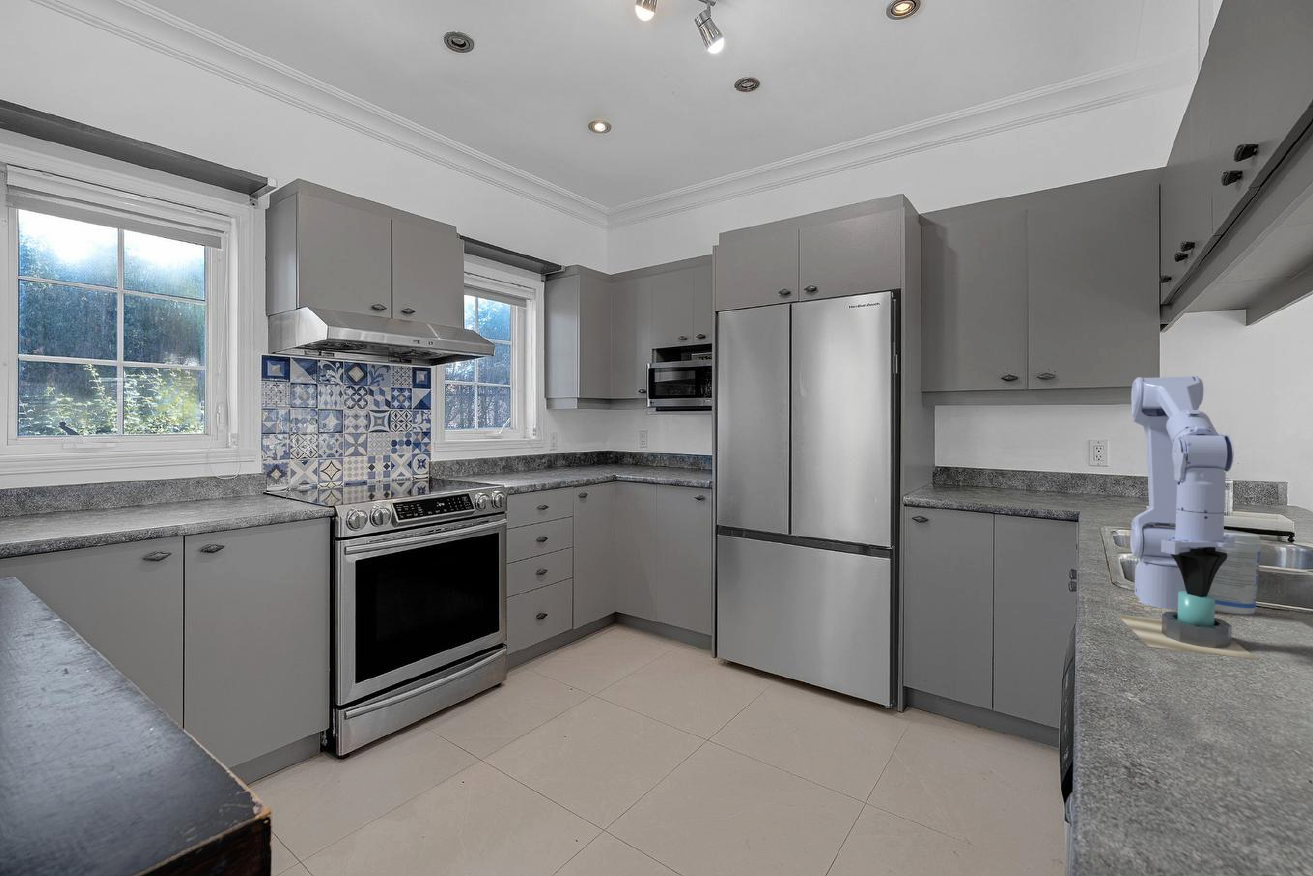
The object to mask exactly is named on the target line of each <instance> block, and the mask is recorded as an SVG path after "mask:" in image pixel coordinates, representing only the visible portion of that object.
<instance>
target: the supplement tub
mask: <svg viewBox="0 0 1313 876" xmlns="http://www.w3.org/2000/svg"><path fill="white" fill-rule="evenodd" d="M1224 534H1225V535H1231V536H1235V548H1225V547H1224V548H1216V550H1215V551H1219V552H1224V553H1227V559H1226V560H1225V561H1224V562H1223V564H1222V565H1221V566H1220V568H1219V569H1218V571H1217V573H1216V575H1215V577H1214V579H1213V582H1212V584H1211V587H1210V590H1209V592H1208V595H1212V596H1214V597H1215V612H1218V613H1223V614H1232V615H1233V614H1234V615H1252V614H1255V613H1256V607H1257V605H1256V604H1257V594H1258V582H1259V581H1258V580H1259V571H1260V559H1261V558H1260V557H1261V542H1260V541H1261V537H1260V535H1259V534H1256V533H1251V532H1245V531H1238V530H1231V529H1229V530H1228V529H1224Z"/></svg>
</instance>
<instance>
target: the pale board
mask: <svg viewBox="0 0 1313 876" xmlns="http://www.w3.org/2000/svg"><path fill="white" fill-rule="evenodd" d="M1117 617H1119V619H1121V621H1123V622H1124V623H1125V624H1126V625H1127V627H1129V628H1130V630H1132V631H1133V632H1134V633H1135V634H1136V635H1137V636H1138V637H1139V638H1140V640H1142V641H1143V642H1144V643H1145V644H1146V645H1147V646H1148V647H1150V648H1157V649H1163V650H1164V649H1165V650H1173V651H1174V650H1175V651H1183V652H1190V653H1199V654H1205V655H1216V656H1224V657H1233V658H1241V659H1248V660H1255V661H1259V660H1260V659H1259V657H1258V658H1257V657H1256V656H1255V655H1253V654H1252V653H1251V652H1249V651H1248V650H1246V648H1244V647H1242V646H1241V645H1240V644H1238V643H1237V642H1235V641H1234V640H1233V639H1231V645H1230V646H1229V647H1228V648H1209V647H1201V646H1195V645H1190V644H1186V643H1182V642H1178V641H1176V640H1173V639H1171V638H1168V637H1166V636H1165V635H1164V634H1163V633H1162V618H1152V617H1144V616H1133V615H1132V616H1131V615H1124V614H1117Z"/></svg>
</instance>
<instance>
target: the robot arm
mask: <svg viewBox="0 0 1313 876" xmlns="http://www.w3.org/2000/svg"><path fill="white" fill-rule="evenodd" d="M1130 395H1131V396H1130V397H1131V399H1130V400H1131V401H1130V402H1131V415H1132V421H1133V422H1134V423H1136V424H1138V425H1141V426H1143V430H1144V432H1145V433H1144V434H1145V439H1146V440H1145V441H1146V460H1147V461H1146V463H1147V464H1146V465H1147V484H1148V485H1147V488H1148V489H1147V490H1148V509H1147V510H1145V511H1143V512H1141V513H1139V514H1137V515H1136V516H1134V517H1133V519H1132V521H1131V524H1130V525H1131V526H1130V527H1131V530H1130V537H1129V538H1130V539H1129V543H1130V551H1131V554H1132V556H1134V557H1135V558H1137V559H1139V561H1138V562H1137V564H1136V566H1135V569H1134V570H1135V571H1134V595H1135V597H1137V598H1138V601H1139V603H1142V604H1143V605H1147V606H1151V607H1154V608H1159V609H1165V610H1174V611H1178V592H1180V591H1186V592H1187V594H1190V595H1194V596H1198V597H1206V596H1207V595H1208V592H1209V590H1210V587H1211V584H1212V582H1213V579H1214V577H1215V575H1216V573H1217V571H1218V569H1219V568H1220V566H1221V565H1222V564H1223V562H1224V561H1225V560H1226V559H1227V553H1224V552H1219V551H1215V550H1216V548H1224V547H1225V548H1235V536H1231V535H1225V534H1224V530H1225V529H1224V528H1225V507H1226V505H1225V503H1226V502H1225V501H1226V482H1227V481H1226V479H1227V478H1226V477H1227V473H1226V472H1229V471H1231V469H1232V465H1233V463H1234V443H1233V440H1232V438H1231V436H1230V435H1229V434H1224V433H1218V432H1217V430H1216V428H1215V427H1214V425H1213V422H1212V420H1211V419H1210V418H1209V416H1208V415H1207V414H1206V413H1205V412H1203V411H1200V410H1199V408H1200V406H1201V405H1202V402H1203V399H1204V383H1203V381H1202V379H1201V378H1200V377H1199V376H1197V375H1192V376H1171V377H1170V376H1169V377H1168V376H1166V377H1165V376H1163V377H1141V376H1138V377H1136V378H1135V380H1133V382H1132V385H1131V393H1130Z"/></svg>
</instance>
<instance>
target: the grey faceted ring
mask: <svg viewBox="0 0 1313 876" xmlns="http://www.w3.org/2000/svg"><path fill="white" fill-rule="evenodd" d="M1161 619H1162V633H1163V634H1164V635H1165V636H1166V637H1168V638H1171V639H1173V640H1176V641H1178V642H1182V643H1186V644H1190V645H1195V646H1201V647H1209V648H1228V647H1229V646H1230V645H1231V640H1232V624H1230V622H1229V623H1228V622H1227V621H1226V620H1223V619H1220V618H1217V617H1215V619H1214V626H1204V625H1196V624H1191V623H1187V622H1183V621H1180V620H1177V619H1178V610H1175V611H1165V612H1164V613H1163V614H1162V615H1161Z"/></svg>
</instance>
